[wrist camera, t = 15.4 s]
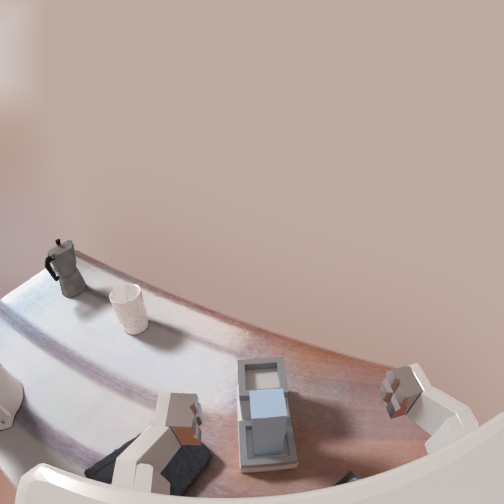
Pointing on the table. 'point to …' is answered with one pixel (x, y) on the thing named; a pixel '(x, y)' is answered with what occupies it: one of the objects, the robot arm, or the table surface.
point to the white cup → (129, 308)
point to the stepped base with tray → (250, 379)
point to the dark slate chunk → (176, 471)
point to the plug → (268, 421)
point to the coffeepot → (65, 268)
